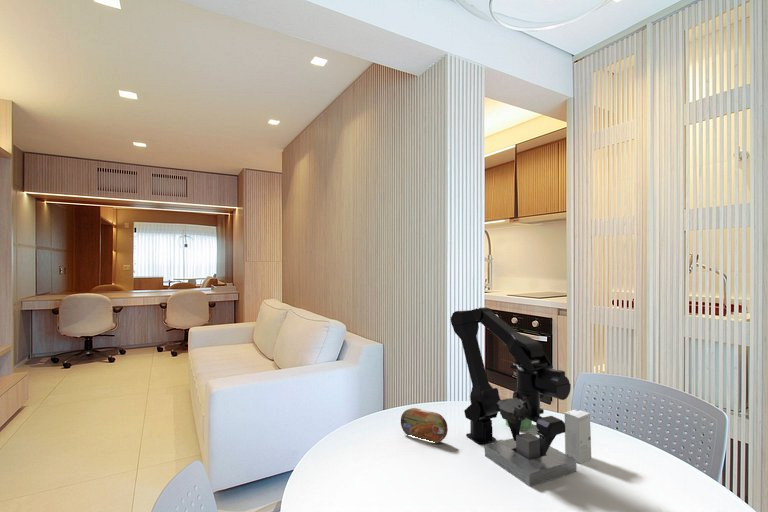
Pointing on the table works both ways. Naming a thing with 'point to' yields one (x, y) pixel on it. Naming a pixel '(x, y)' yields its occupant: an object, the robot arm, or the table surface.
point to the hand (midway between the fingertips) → (528, 448)
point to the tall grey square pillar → (528, 445)
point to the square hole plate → (530, 463)
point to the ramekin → (524, 424)
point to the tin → (424, 424)
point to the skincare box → (578, 435)
